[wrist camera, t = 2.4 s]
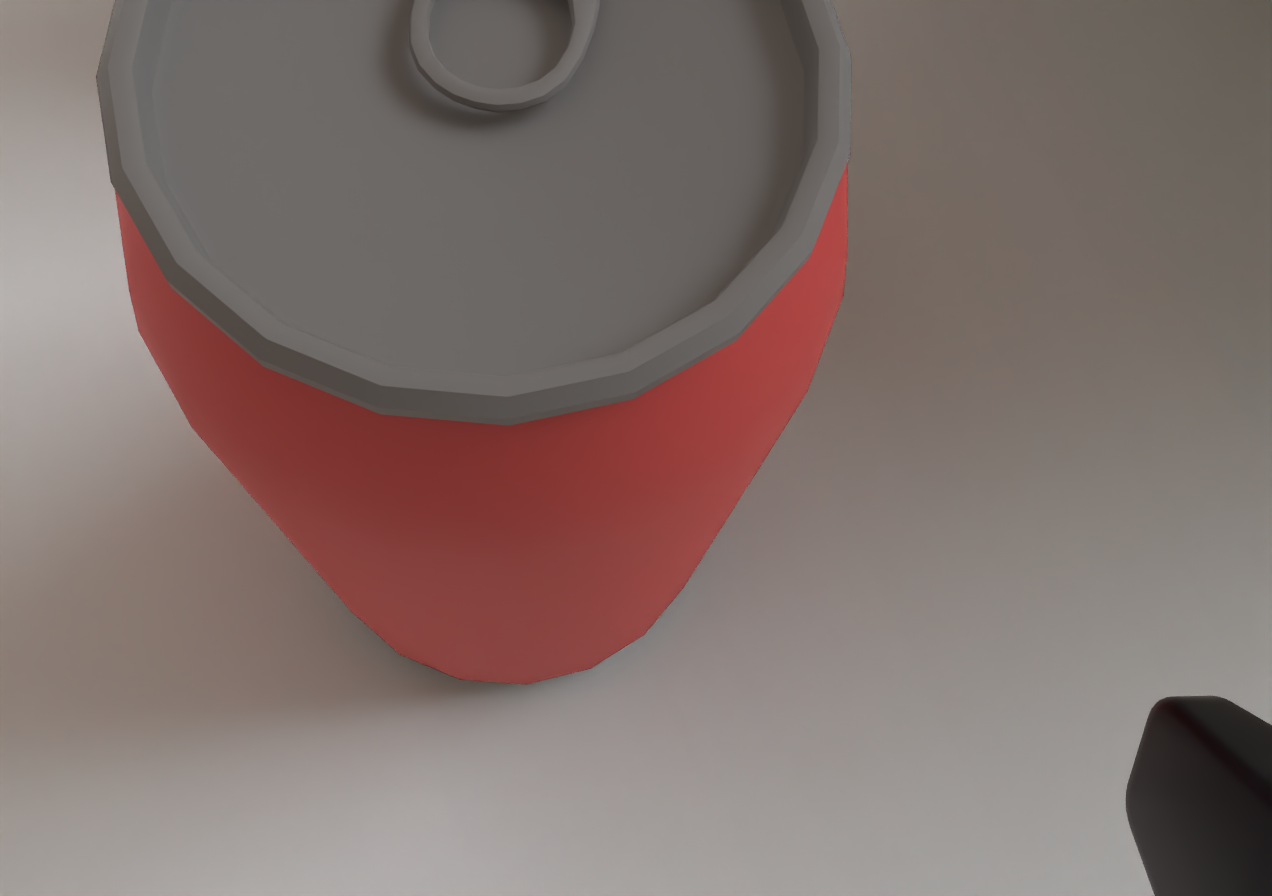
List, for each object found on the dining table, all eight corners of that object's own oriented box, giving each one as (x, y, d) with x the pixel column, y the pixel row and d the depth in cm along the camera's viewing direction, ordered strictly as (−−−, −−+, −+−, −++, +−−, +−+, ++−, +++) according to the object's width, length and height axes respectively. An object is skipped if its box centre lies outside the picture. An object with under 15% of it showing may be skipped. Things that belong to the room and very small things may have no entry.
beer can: (738, 365, 21) (977, -175, 10) (659, 731, 19) (849, 593, 8) (381, 280, 21) (200, -367, 10) (265, 636, 19) (-148, 354, 7)
